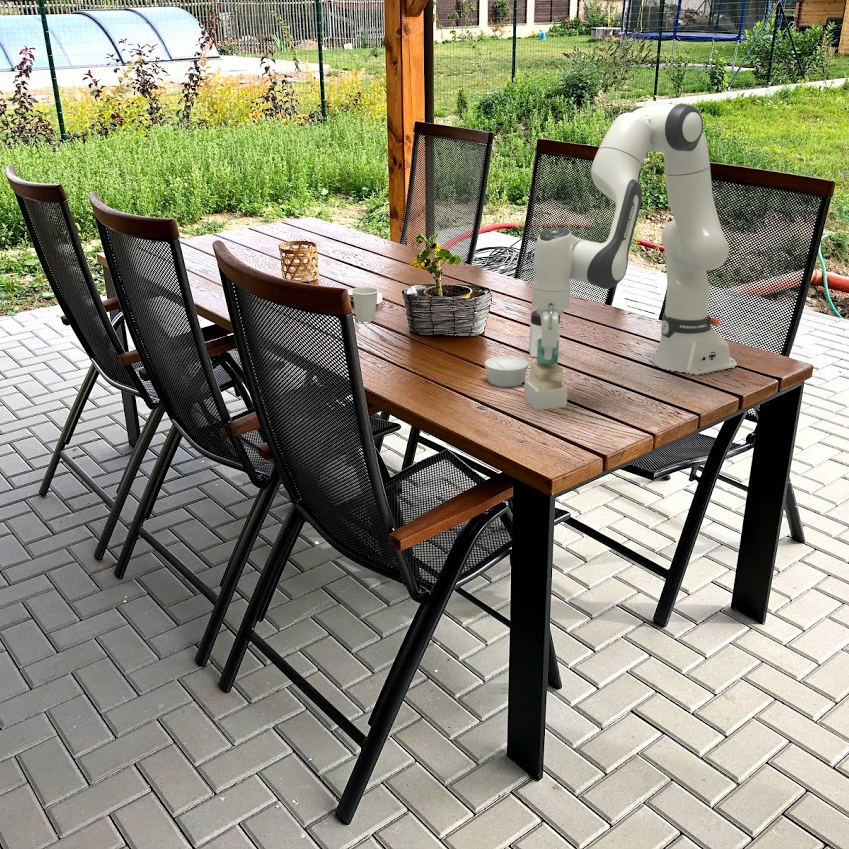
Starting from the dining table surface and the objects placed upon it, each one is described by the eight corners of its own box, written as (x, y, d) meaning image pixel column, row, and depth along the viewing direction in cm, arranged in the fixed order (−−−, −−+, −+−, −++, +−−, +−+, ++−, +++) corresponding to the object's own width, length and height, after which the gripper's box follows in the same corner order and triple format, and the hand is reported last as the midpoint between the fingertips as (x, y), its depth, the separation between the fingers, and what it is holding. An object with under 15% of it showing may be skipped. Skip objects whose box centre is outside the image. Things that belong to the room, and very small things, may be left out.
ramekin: (475, 382, 242) (476, 363, 239) (499, 371, 250) (500, 352, 248) (512, 392, 235) (512, 372, 233) (535, 380, 243) (536, 361, 241)
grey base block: (553, 396, 233) (554, 377, 231) (566, 407, 226) (567, 388, 224) (523, 399, 231) (524, 380, 229) (535, 410, 224) (536, 391, 222)
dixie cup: (377, 325, 288) (377, 293, 285) (351, 324, 289) (350, 293, 285) (379, 317, 296) (379, 286, 292) (353, 317, 296) (352, 286, 292)
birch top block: (551, 379, 230) (553, 360, 228) (561, 387, 225) (563, 368, 223) (529, 381, 228) (530, 362, 226) (538, 390, 223) (539, 370, 221)
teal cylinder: (552, 356, 227) (553, 337, 225) (560, 363, 222) (562, 343, 221) (533, 358, 226) (534, 338, 224) (541, 364, 221) (542, 345, 219)
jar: (523, 355, 262) (525, 314, 257) (534, 347, 268) (536, 307, 263) (552, 360, 258) (555, 319, 253) (563, 352, 264) (566, 312, 259)
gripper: (565, 311, 208) (561, 369, 214) (563, 288, 227) (559, 342, 232) (537, 310, 209) (534, 368, 214) (537, 287, 228) (534, 341, 233)
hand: (547, 354), depth 223 cm, fingers closed on teal cylinder, 5 cm apart
